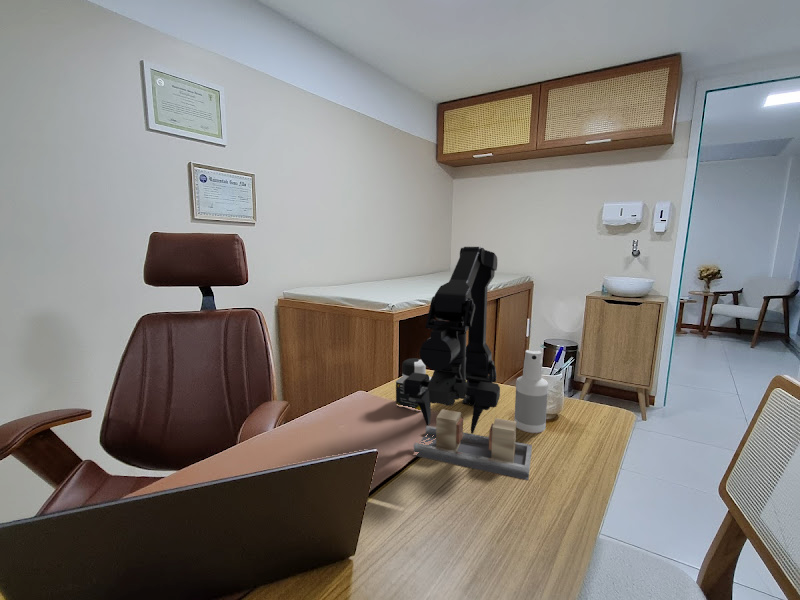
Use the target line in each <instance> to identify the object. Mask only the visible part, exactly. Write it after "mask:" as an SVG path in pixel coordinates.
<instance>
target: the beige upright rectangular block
mask: <svg viewBox="0 0 800 600" xmlns="http://www.w3.org/2000/svg"><path fill="white" fill-rule="evenodd" d="M489 427H490V428H489V431H488V432H489V433H488V434H489V436H488V437H489V450H492V454H491V458H492V459H497V460H502V461H507V462H512V463H513V462H514V457H515V442H517V441H516V437H517V427H516V421H514V420H509V419H503V418H497V417H496V418H494V421H493V423H491V425H490V426H489Z"/></svg>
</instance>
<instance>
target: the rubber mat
mask: <svg viewBox="0 0 800 600" xmlns="http://www.w3.org/2000/svg"><path fill="white" fill-rule="evenodd" d="M426 435H427V434H426V433H425V434H424V436H423V437H422V439H420V442H421V441H423V440H426V439H428V438H430V439H429V440H426V441H425V442H428V441H431V440H433V439H435V438H436V436H435V435H434V436H433V435H430V434H428V435H427V437H425V436H426ZM432 436H433V437H432ZM432 442H433V443H431V444H429V445H428V446H433V447H436V439H435V440H433V441H432ZM421 443H424V442H421ZM424 444H425V443H424ZM457 451H458V452H463V453H468V454H472V455H477V456H482V457H487V458H491V454H492V450H489V446H487V445H482V444H477V443H471V442H466V441H460V445H459V447H458V450H457ZM415 457H419V458H424V459H429V460H434V461H438V462H442V463H448V464H451V465H456V466H459V467H460V466H461V467H465V468H471V469H475V470H480V471H483V472H489V473H493V474H498V475H501V476H508V477H511V478H516V479H521V480H525V481H529V478H530V475H529V476H525V475H521V474H516V473H511V472H507V471H502V470H497V469H493V468H488V467H483V466H478V465H474V464H469V463H464V462H460V461H455V460H450V459H446V458H441V457H436V456H432V455H427V454H422V453H418V454H417V455H416V456H415ZM525 460H526V453H523V452H518V451H515V457H514V462H513V463H517V464H521V465H525Z"/></svg>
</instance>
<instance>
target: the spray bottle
mask: <svg viewBox="0 0 800 600" xmlns="http://www.w3.org/2000/svg"><path fill="white" fill-rule="evenodd" d="M542 353H543V352H542V351H541V350H530V349H526V350H525V356H524V359H523V369H522V375H521V376H519V377H517V378H516V381H515V400H514V401H515V403H514V420H513V421H516V429H518V430H520V431H523V432H526V433H531V434H533V433H534V434H538V433H541V432H544V431H545V430H546V424H547V421H546V420H547V407H548V391H549V382H548V381H547V380H546V379H545V378H543V360H542V355H543V354H542Z"/></svg>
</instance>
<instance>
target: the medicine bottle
mask: <svg viewBox="0 0 800 600" xmlns="http://www.w3.org/2000/svg"><path fill="white" fill-rule="evenodd" d="M401 364H402V365H401V366H402V372H401V373H402V376H401V377H400V378H398V379H397V380H396V381H395V405H396V404H398V405H403V406H408V407H412V408H415V409H418V410H421V409H420V406H419V404H418V403H417V401H416V400H414V399H413V398H410V397H409V394H404V393H403V382H404V380H405V379H407V378H408V377H409V376H410V375H411V374H412V373H421V374H427V372H426V369H427V368H426V367H427V366H426V365H425V364H424V363H423V362H422V360H421V358H414V357H412V358H407V359H404V361H402V363H401ZM431 378H432V376H430V375H429V380H431Z"/></svg>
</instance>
